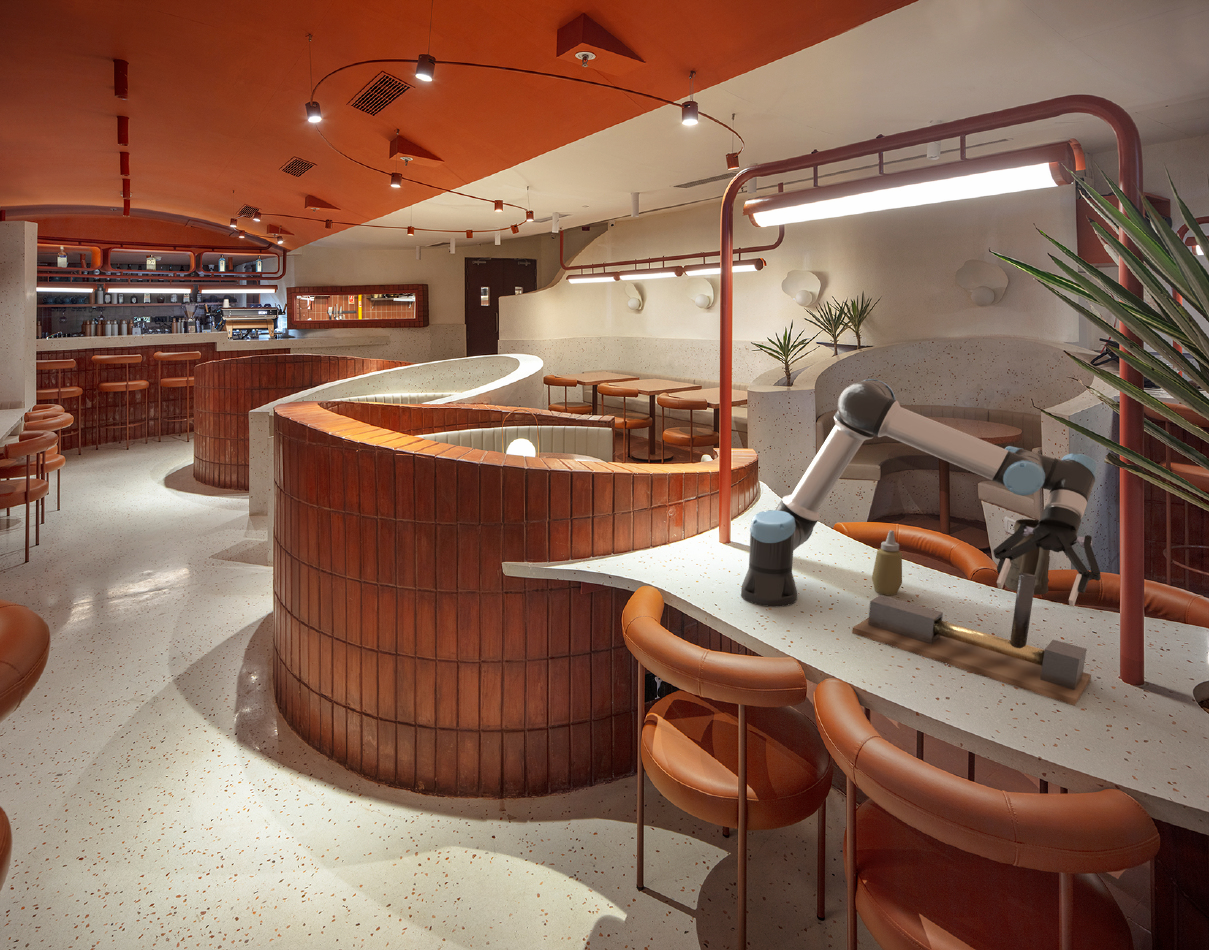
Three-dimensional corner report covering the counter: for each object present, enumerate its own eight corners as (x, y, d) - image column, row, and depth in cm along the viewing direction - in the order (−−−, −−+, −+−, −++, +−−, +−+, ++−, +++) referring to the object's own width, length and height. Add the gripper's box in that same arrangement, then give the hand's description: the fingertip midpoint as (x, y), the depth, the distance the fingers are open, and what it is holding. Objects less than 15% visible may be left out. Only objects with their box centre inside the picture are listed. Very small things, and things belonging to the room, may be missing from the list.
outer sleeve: (868, 624, 166) (870, 600, 165) (878, 618, 170) (880, 594, 169) (931, 644, 156) (934, 619, 155) (940, 637, 160) (943, 612, 159)
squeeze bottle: (904, 598, 187) (910, 536, 184) (873, 595, 189) (879, 534, 185) (897, 587, 195) (903, 527, 191) (868, 585, 197) (873, 526, 193)
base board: (852, 633, 165) (852, 627, 165) (876, 616, 175) (877, 611, 175) (1074, 705, 133) (1076, 698, 133) (1090, 680, 143) (1091, 674, 142)
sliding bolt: (927, 633, 157) (935, 557, 154) (932, 629, 160) (941, 554, 156) (1063, 674, 139) (1076, 589, 135) (1067, 669, 141) (1080, 584, 137)
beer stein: (996, 579, 202) (1007, 516, 196) (1034, 581, 201) (1045, 517, 195) (1022, 603, 187) (1034, 535, 182) (1063, 604, 186) (1076, 536, 181)
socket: (1040, 679, 140) (1044, 649, 139) (1048, 668, 145) (1052, 639, 143) (1074, 690, 136) (1079, 659, 135) (1081, 678, 141) (1086, 648, 139)
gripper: (1130, 535, 146) (1104, 619, 139) (1003, 513, 164) (974, 587, 157) (1130, 516, 142) (1103, 602, 135) (999, 495, 159) (969, 570, 152)
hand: (1033, 594), depth 146 cm, fingers open, 13 cm apart
